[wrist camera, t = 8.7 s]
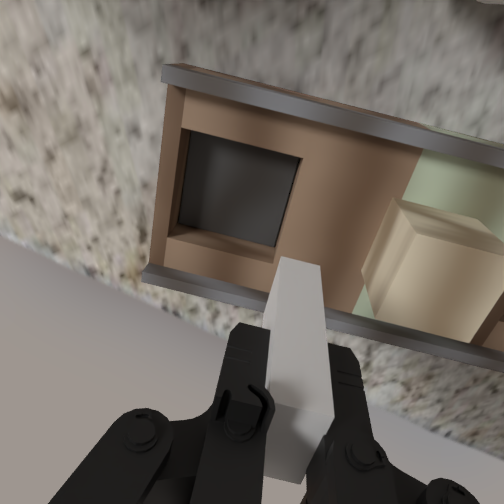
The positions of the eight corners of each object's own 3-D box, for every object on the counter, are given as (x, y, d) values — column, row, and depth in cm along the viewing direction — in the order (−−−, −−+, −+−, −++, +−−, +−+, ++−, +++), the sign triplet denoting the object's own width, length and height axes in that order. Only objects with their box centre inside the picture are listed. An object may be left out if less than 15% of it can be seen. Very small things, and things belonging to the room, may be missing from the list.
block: (361, 270, 24) (374, 319, 19) (392, 197, 22) (416, 233, 17) (437, 290, 24) (468, 343, 19) (477, 219, 22) (523, 261, 17)
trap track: (159, 255, 28) (141, 281, 25) (183, 63, 22) (162, 64, 19) (566, 357, 28) (601, 397, 25) (702, 194, 22) (773, 219, 19)
